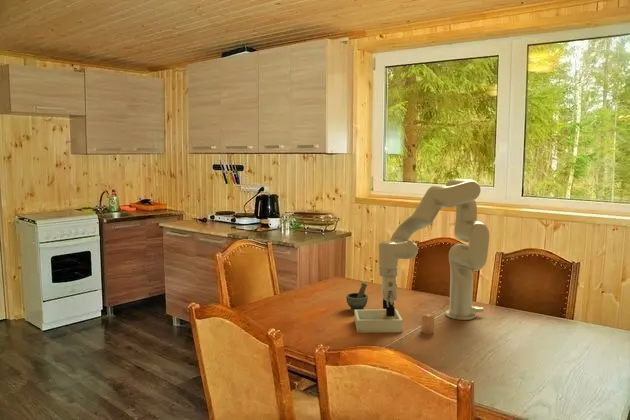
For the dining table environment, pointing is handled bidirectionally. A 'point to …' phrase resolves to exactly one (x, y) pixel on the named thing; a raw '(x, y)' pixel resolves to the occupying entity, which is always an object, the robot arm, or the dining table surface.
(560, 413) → the dining table surface
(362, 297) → the mortar and pestle
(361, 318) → the tote
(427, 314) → the cylinder
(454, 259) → the robot arm
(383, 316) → the cube
